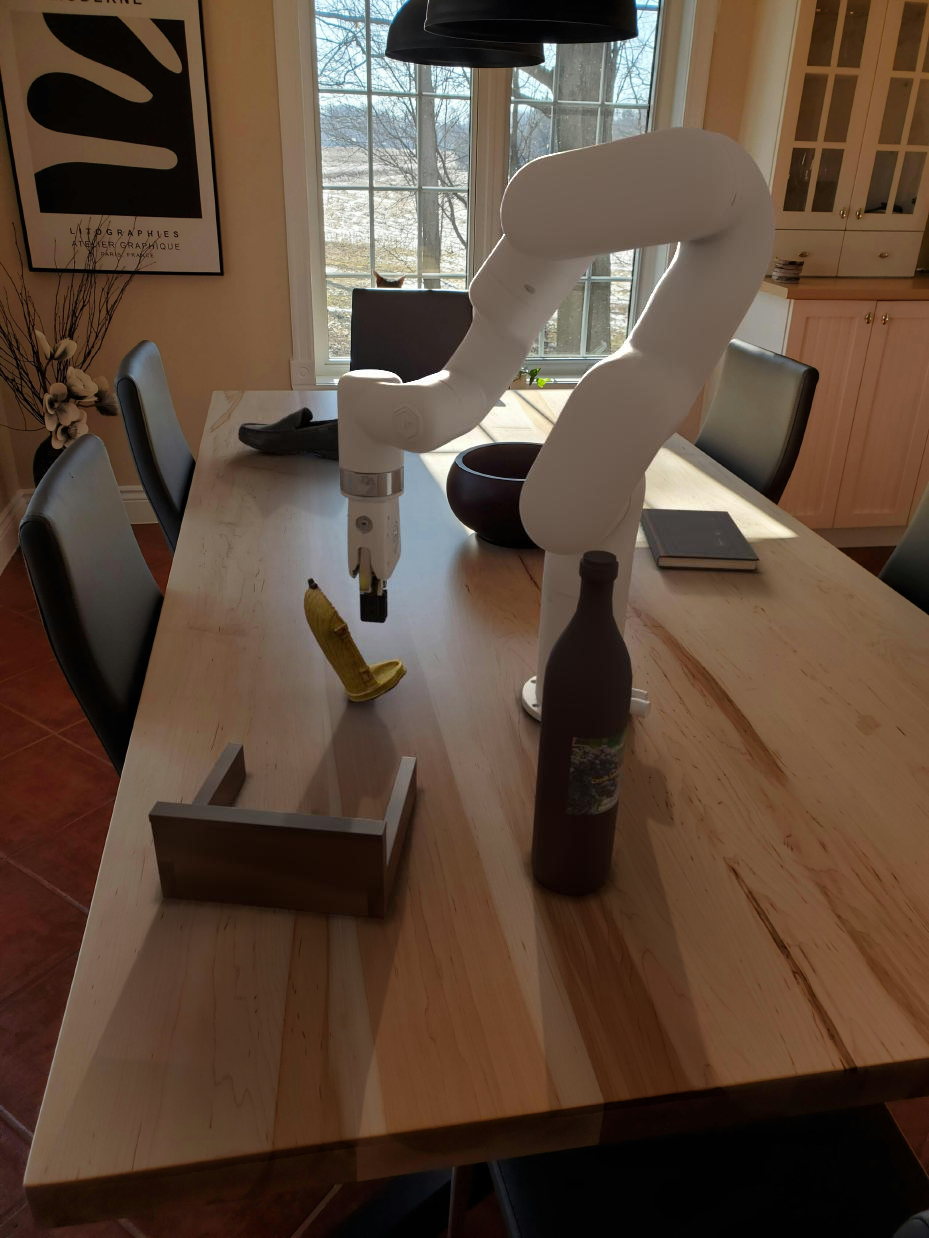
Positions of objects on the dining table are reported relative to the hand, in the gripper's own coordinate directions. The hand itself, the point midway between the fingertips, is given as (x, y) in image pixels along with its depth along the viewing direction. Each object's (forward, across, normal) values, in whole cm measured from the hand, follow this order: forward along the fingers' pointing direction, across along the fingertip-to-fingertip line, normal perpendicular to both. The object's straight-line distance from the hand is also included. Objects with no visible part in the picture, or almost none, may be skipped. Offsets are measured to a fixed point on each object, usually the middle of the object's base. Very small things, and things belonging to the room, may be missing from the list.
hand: (374, 619), depth 114 cm
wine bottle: (+5, -38, -25) cm, 45 cm away
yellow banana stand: (+5, -11, 0) cm, 12 cm away
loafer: (+6, +90, +34) cm, 96 cm away
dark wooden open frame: (+5, -36, 0) cm, 37 cm away
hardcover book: (+5, +47, -46) cm, 66 cm away
